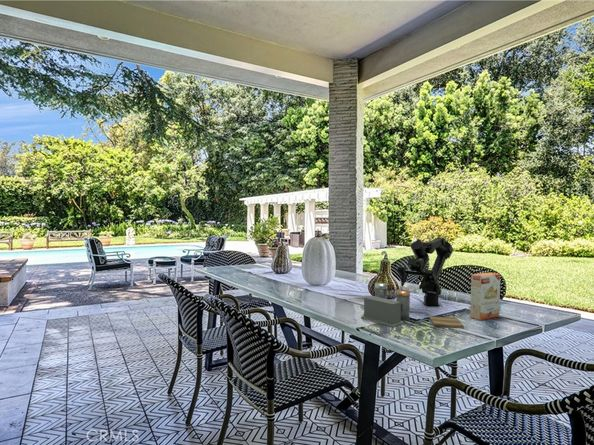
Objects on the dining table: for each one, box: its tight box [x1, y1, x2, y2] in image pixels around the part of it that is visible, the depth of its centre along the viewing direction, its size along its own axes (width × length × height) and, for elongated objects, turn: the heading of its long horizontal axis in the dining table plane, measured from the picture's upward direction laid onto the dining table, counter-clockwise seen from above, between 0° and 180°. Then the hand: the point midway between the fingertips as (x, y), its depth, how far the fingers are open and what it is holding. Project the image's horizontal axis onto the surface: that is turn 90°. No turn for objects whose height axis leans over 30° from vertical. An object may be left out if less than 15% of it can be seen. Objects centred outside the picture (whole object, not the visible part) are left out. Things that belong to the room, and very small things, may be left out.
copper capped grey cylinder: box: [395, 289, 411, 321], centre depth 176 cm, size 6×6×13 cm
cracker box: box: [469, 272, 501, 321], centre depth 177 cm, size 14×6×21 cm, turn 117°
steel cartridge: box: [374, 282, 388, 299], centre depth 193 cm, size 6×6×13 cm
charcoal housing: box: [360, 295, 405, 328], centre depth 172 cm, size 8×18×10 cm, turn 41°
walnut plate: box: [428, 316, 465, 329], centre depth 168 cm, size 12×12×1 cm
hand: (410, 287), depth 181 cm, fingers open, 9 cm apart
